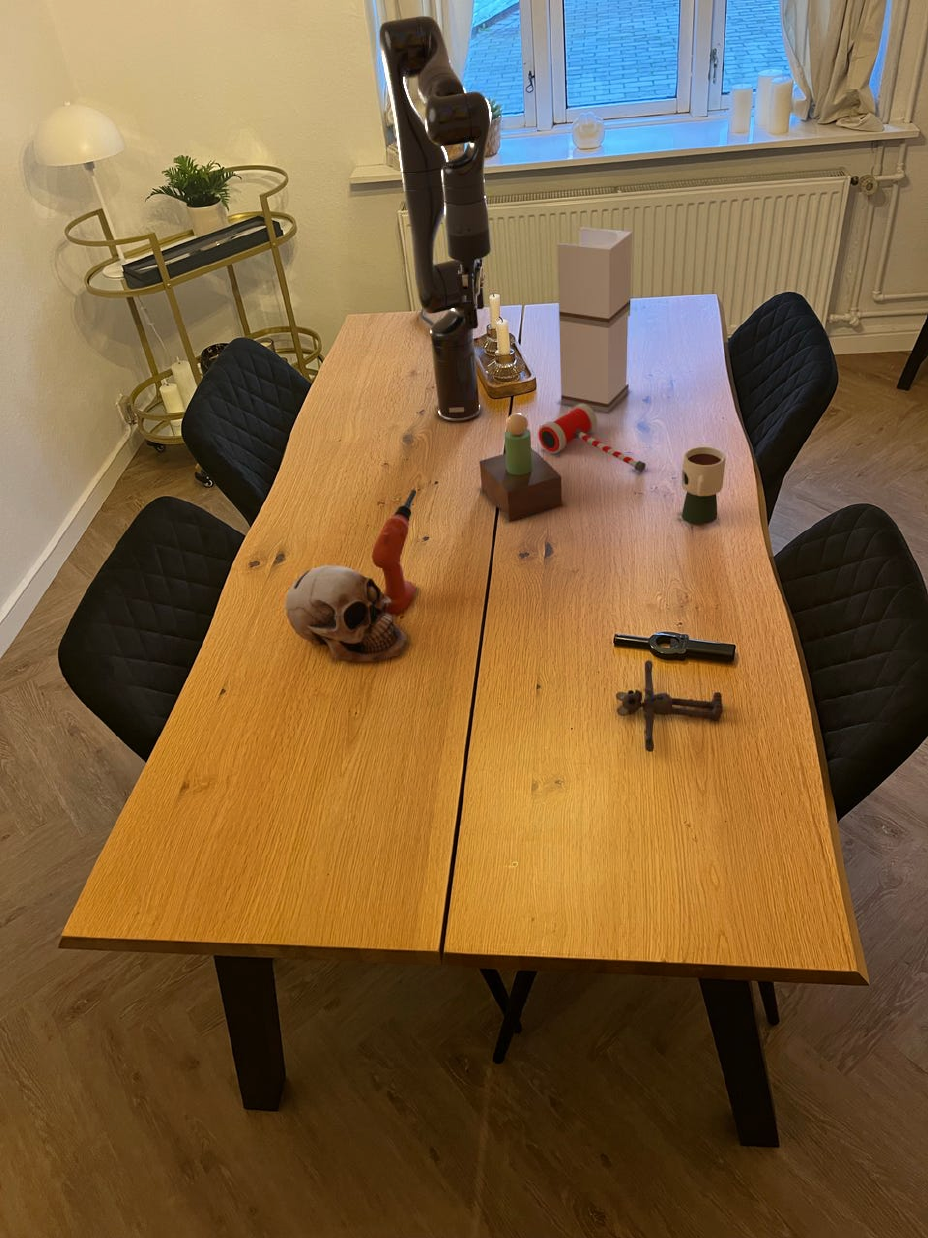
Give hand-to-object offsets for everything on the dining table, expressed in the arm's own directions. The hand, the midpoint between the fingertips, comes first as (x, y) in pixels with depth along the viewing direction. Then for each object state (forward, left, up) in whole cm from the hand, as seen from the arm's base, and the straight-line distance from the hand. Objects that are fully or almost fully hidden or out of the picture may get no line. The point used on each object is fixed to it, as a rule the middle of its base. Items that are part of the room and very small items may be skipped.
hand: (475, 317), depth 168 cm
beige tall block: (-16, +33, -32) cm, 49 cm away
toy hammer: (+4, +21, -32) cm, 39 cm away
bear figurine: (+75, -5, -32) cm, 82 cm away
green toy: (+13, +1, -25) cm, 28 cm away
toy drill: (+28, -28, -32) cm, 51 cm away
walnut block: (+13, +1, -32) cm, 34 cm away
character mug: (+36, +26, -32) cm, 55 cm away
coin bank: (+37, -41, -32) cm, 64 cm away
